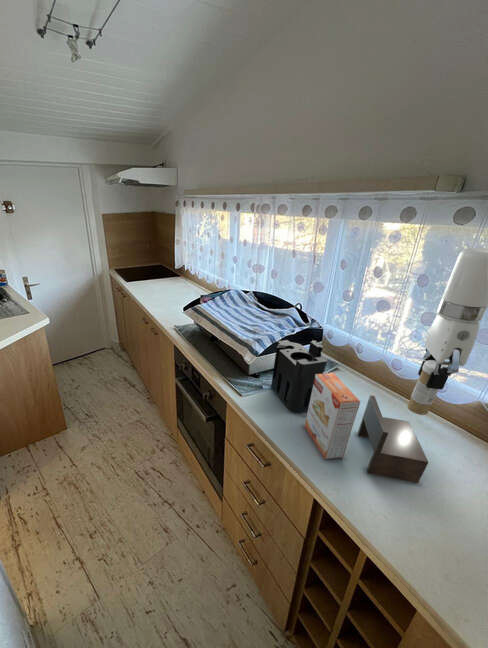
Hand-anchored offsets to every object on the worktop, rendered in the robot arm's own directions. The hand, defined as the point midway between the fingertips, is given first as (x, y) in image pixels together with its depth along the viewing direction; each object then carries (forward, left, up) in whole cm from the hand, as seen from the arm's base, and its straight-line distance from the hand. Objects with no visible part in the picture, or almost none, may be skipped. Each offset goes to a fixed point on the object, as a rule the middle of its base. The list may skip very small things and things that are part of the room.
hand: (429, 381), depth 73 cm
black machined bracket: (+28, -25, -28) cm, 47 cm away
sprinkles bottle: (0, 0, -9) cm, 9 cm away
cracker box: (+19, -3, -28) cm, 34 cm away
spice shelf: (+2, -2, -28) cm, 28 cm away
